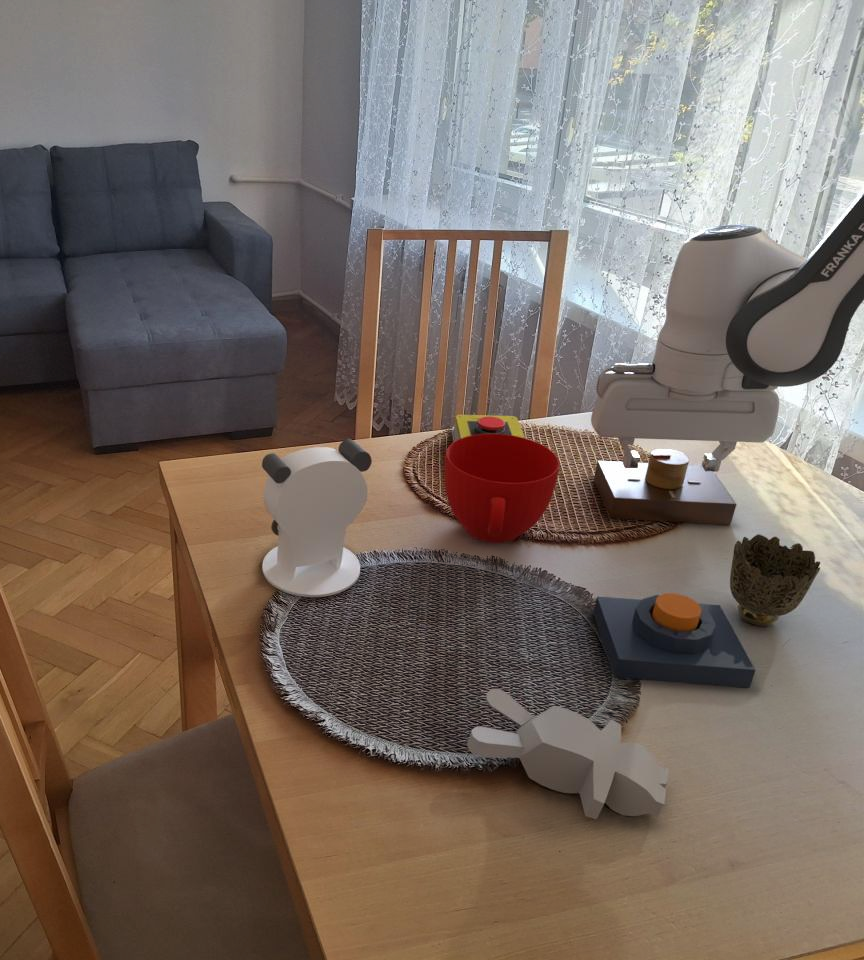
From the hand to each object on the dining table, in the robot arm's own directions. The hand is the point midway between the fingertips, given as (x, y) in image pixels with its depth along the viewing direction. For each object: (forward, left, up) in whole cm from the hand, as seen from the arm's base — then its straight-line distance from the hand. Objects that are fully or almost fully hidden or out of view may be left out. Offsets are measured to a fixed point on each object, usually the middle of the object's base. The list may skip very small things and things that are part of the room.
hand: (669, 467), depth 108 cm
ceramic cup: (+22, +11, -5) cm, 26 cm away
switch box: (+7, +30, -5) cm, 31 cm away
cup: (-3, +24, -5) cm, 25 cm away
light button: (+7, +30, -1) cm, 31 cm away
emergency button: (+20, -12, -5) cm, 24 cm away
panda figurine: (+43, +20, -5) cm, 48 cm away
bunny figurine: (+20, +48, -5) cm, 53 cm away
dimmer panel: (0, 0, -5) cm, 5 cm away
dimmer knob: (0, 0, -2) cm, 2 cm away
